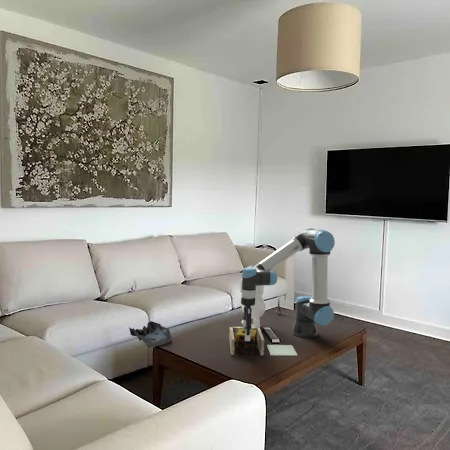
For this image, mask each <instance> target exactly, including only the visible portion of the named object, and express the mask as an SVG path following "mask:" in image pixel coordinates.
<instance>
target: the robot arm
mask: <svg viewBox="0 0 450 450" xmlns="http://www.w3.org/2000/svg"><path fill="white" fill-rule="evenodd" d="M335 244H336V243H335V237H334V235H333V234H332V233H331V232H330V231H328V230H324V229H318V228H316V229H315V228H311V227H310V228H307V229H305V230H302V231H300V232H297V234H295V235H293V237H291V238H290V241H288V242H287V243H286V244H284V245H283V246H281V247H280V248H278V249H277V250H275V251H273V253H271V254H270V255H268V256H267V257H265V258H264V259H262V260H261V261H259V262H258V263H257V264H255V265H250V266H247V267H244V268H243V269H242V272H241V274H242V275H241V279H242V291H241V290H240V291H239V292H240V293H241V298H240V304H241V306H242V305H244V313H243V312H242V313H243V315H242V318H243V319H242V321H243V324H242V327H243V329H245V341H250V335H251V324H252V319H251V312H252V309H251V307H250V306H253V305H255V298H254V297H255V296H256V286H264V287H265V286H274V285H275V284H277V282H278V275H277V273H276V271H273V270H274V269H275V268H277V267H278V266H280V265H281V264H282V263H284V262H285V261H287V260H288V259H289V258H291V257H292V256H294V255H296V253H298V252H303V250H306V249H309V250H308V251H309V255H310V256H311V295H301V296H297V297H296V300H295V320H294V323H293V326H292V327H291V334H292V335H293V336H296V337H297V338H298V337H299V338H303V339H304V338H305V339H307V338H309V339H310V338H311V339H312V338H315V337H317V336H318V329H317V325H319V326H326V325H329V324H330V323H331V322H332V321H333V320H334V316H335V312H334V309H333V308H332V307H331V300H330V299H329V298H328V264H329V263H328V261H329V260H328V257H329V256H330V255H331V251H333V248H334V247H335Z"/></svg>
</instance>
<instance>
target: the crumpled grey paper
mask: <svg viewBox="0 0 450 450" xmlns="http://www.w3.org/2000/svg"><path fill="white" fill-rule="evenodd" d="M128 328H129V333H130V336H132V337H136V338H137V339H138V341H142V342H143V343H144V344H145V345H146V346H147V347H148V348H149V349H150V348H154V347H157V346H158V347H159V346H163V345H166V344H168V342H169V341H170V342H173V337H172V333H171V331H170V329H169V328H167V327H165V326H163V325H162V324H161V323H158V322H156V321H155V322H154V321H152V320H151V321H149V322H147V324H146V325H143V327H142V329H141V328H140V329H139V328H135V327H133V328H131V327H130V326H129V327H128Z"/></svg>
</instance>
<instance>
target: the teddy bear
mask: <svg viewBox="0 0 450 450" xmlns="http://www.w3.org/2000/svg"><path fill="white" fill-rule="evenodd" d="M239 289H240V291H242V278H241V279H240V281H239ZM264 289H265V285H264V286H256V296H255V297H254V298H255V305H253V306H250V307H251V309H252V312H251V320H252V323H251V327H260V328H261V324H260V323H261V318H260V317H262V316H263V315H264V314H265V312H266V303H265V301H264V298H263V295H264V291H265V290H264ZM241 310H242V313H244V305H242V304H241ZM241 325H243V320H241Z"/></svg>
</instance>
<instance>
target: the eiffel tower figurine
mask: <svg viewBox="0 0 450 450" xmlns="http://www.w3.org/2000/svg"><path fill="white" fill-rule="evenodd" d="M277 301H278V302H277V308H276V309H275V310H274V311H273V312H274V313H273V314H275V315H276V316H284V315H283V314H285V315H286V316H291V315H292V313H286V312H283V311H282V310H281V308H280V307H281V305H280V299H277Z"/></svg>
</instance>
